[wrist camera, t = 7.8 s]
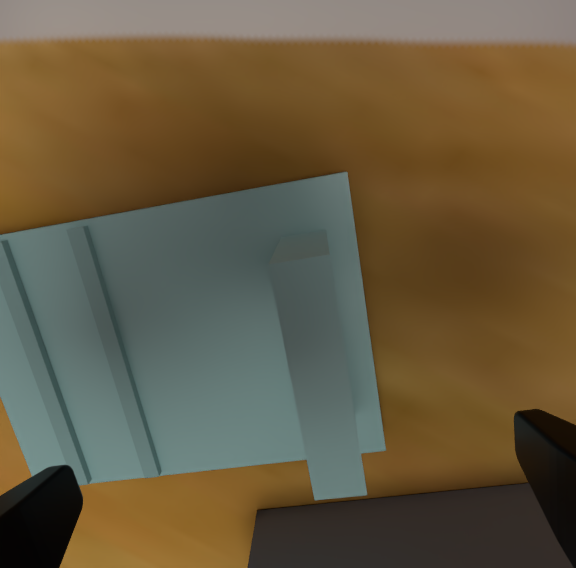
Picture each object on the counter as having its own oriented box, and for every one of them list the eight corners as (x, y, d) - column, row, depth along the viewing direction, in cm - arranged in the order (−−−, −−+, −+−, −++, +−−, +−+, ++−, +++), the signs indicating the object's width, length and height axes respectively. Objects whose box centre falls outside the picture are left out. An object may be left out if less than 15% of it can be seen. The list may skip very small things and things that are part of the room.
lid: (344, 171, 15) (359, 174, 10) (380, 427, 18) (407, 540, 12) (-27, 238, 16) (-189, 274, 11) (58, 464, 19) (-40, 579, 14)
